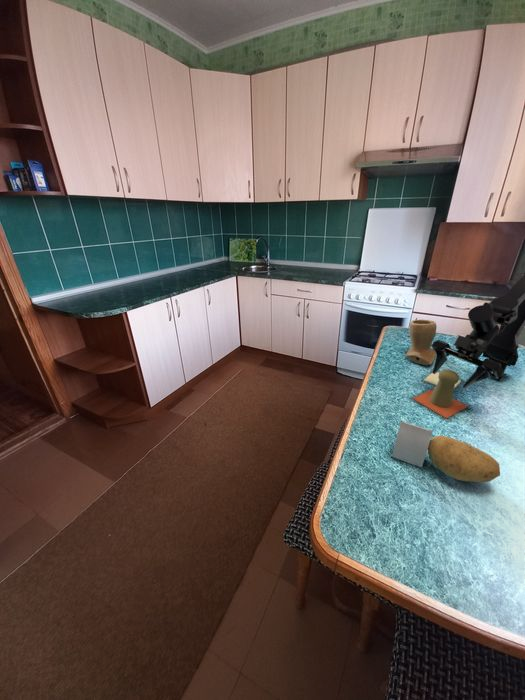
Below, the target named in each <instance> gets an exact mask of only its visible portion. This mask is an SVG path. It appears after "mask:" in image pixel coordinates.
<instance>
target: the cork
mask: <svg viewBox="0 0 525 700" xmlns="http://www.w3.org/2000/svg"><path fill="white" fill-rule="evenodd" d="M438 378H439V381H438V383H437V385H435V387H434V391H433V393H432V395H431V397H430V402H431V403H432V404H434V405H436V406H438V407H441V408H449V407H451V404H452V398H454V392H455V389H454V385H455V384H456V383H457V382H458V380H460V376H459V373H458V372H456V371H454V370H452V369H442V370H441V371H439V376H438Z"/></svg>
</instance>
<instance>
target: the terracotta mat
mask: <svg viewBox="0 0 525 700" xmlns="http://www.w3.org/2000/svg"><path fill="white" fill-rule="evenodd" d="M434 389H435V387H433V388H431V389H429V390H427V391H425V392H423V393H422V394H419V395H417V396H415V397H413V398H412V400H413V401H415V402H416V403H418V404H420V405H422V406H423V407H425V408H427V409H428V410H430V411H431V412H433V413H435V414H437V415H439V416H440V417H442V418H443V419H446V420H447V419H449V418H451V417H453V416H454V415H456V414H457V413H459V412H461V411H463V410H465V409H467V408H468V405H467V404H466V403H463V402H461V401H460V400H458V399H455V398H454V397H453V398H452V404H451V407H449V408H441V407H438V406H436V405H434V404H432V403H431V402H430V397H431V395H432V393H433V391H434Z"/></svg>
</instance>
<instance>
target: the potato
mask: <svg viewBox="0 0 525 700" xmlns="http://www.w3.org/2000/svg"><path fill="white" fill-rule="evenodd" d="M427 454H428V456H429V459H430V460H431V462H432V463H433V464H434V466H435V467H436V468H437V469H439V471H441V472H442V473H444V474H446V475H447V476H449V477H451V478H453V479H454V480H458V481H462V482H473V483H475V482H476V483H487V482H489V483H490V482H492V481H493V480H495V479H496V478H498V477H500V476H501V470H500V469H501V468H500V463H499V462H498V461H497V460H496V459H495V458H494V457H493V456H492V455H490V454H489V453H486V452H485V451H483V450H481V449H479V448H478V447H476V446H473V445H471V444H469V443H467V442H464V441H462V440H459V439H455V438H453V437H450V436H445V435H441V434H440V435H435V436H434V437H433V438H432V437H431V439H430V443H429V447H428V450H427Z"/></svg>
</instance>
